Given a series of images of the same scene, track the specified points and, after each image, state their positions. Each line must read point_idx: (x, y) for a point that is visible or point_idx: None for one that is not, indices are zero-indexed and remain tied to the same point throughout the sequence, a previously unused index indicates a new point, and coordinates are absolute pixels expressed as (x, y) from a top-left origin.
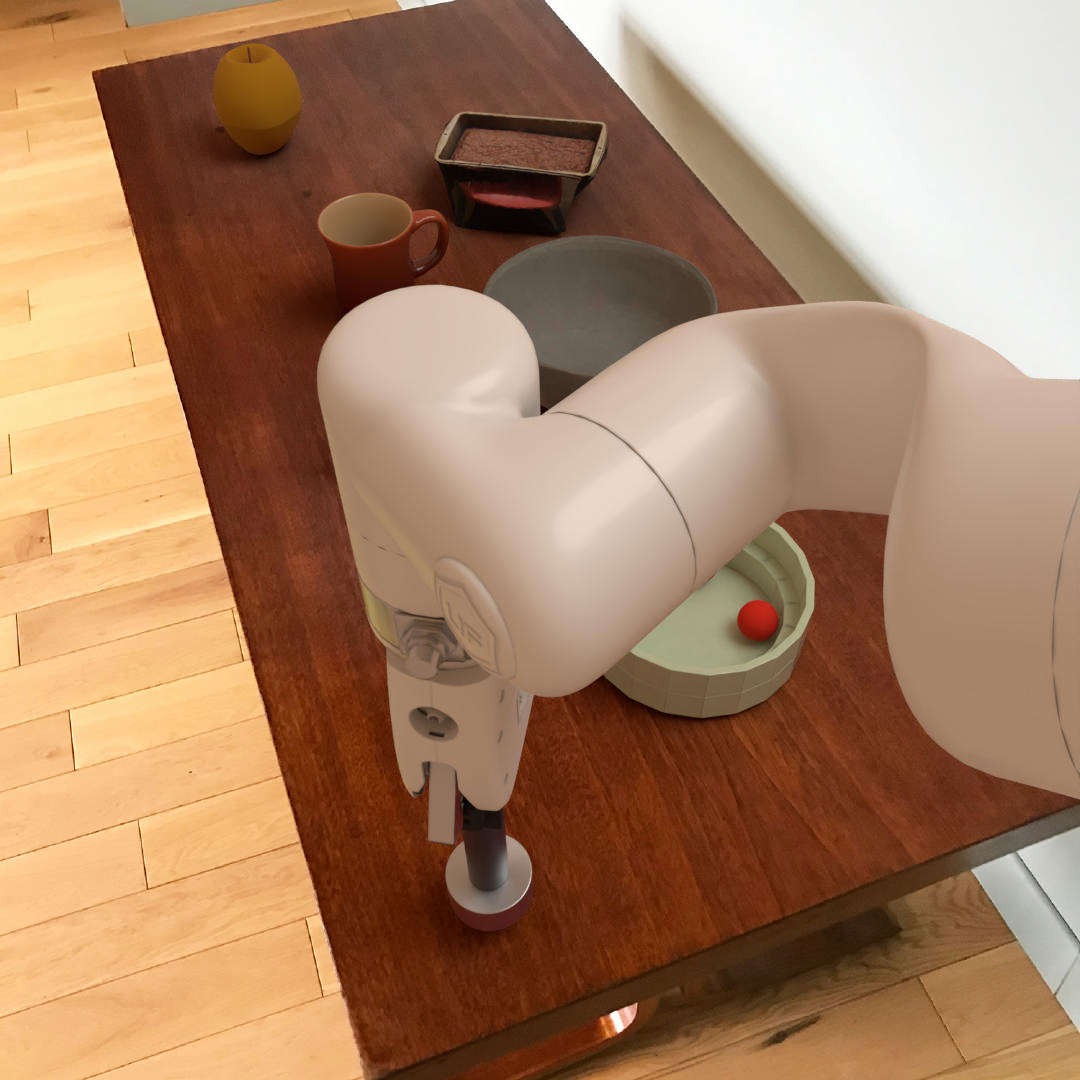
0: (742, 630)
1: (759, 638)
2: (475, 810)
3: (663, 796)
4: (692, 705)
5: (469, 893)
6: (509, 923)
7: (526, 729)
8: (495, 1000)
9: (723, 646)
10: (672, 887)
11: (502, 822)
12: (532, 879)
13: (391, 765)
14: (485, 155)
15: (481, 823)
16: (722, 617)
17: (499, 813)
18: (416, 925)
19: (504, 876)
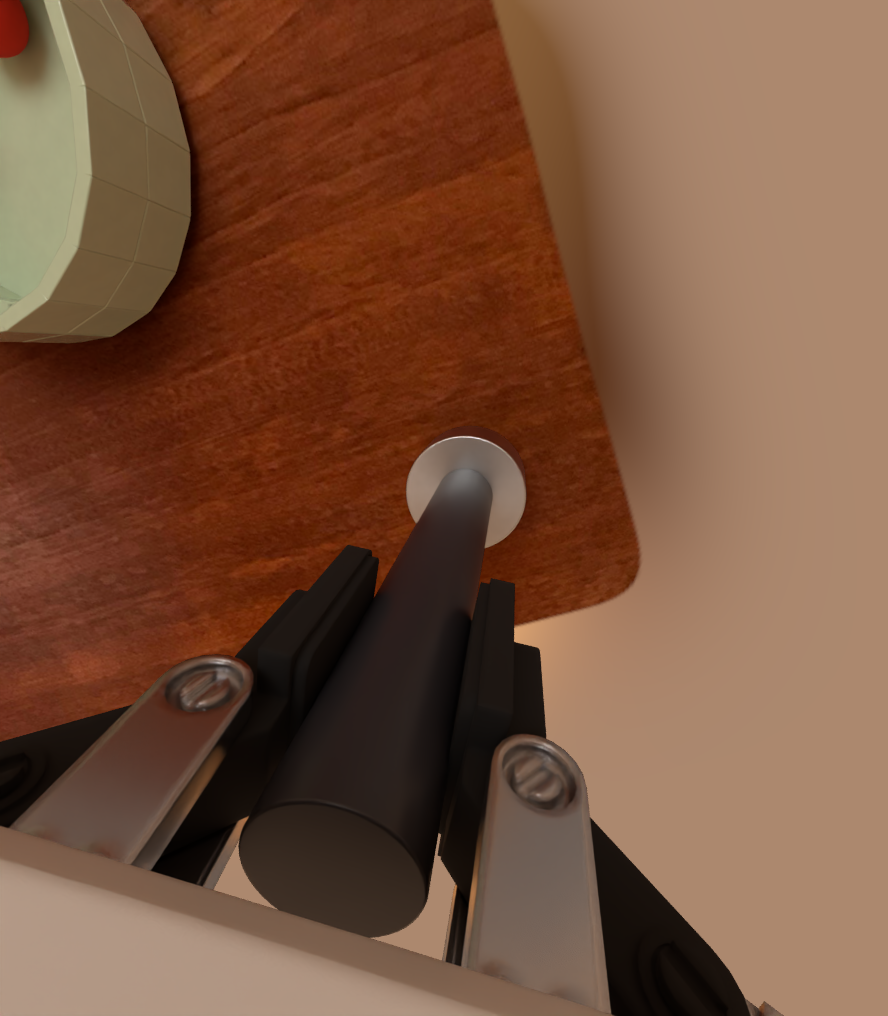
0: (7, 43)
1: (15, 6)
2: (702, 954)
3: (322, 227)
4: (167, 157)
5: (494, 521)
6: (520, 459)
7: (274, 951)
8: (590, 467)
9: (57, 99)
10: (457, 220)
11: (503, 584)
12: (471, 432)
13: (309, 578)
14: None
15: (541, 672)
16: (4, 97)
17: (513, 626)
18: (496, 552)
19: (479, 479)
